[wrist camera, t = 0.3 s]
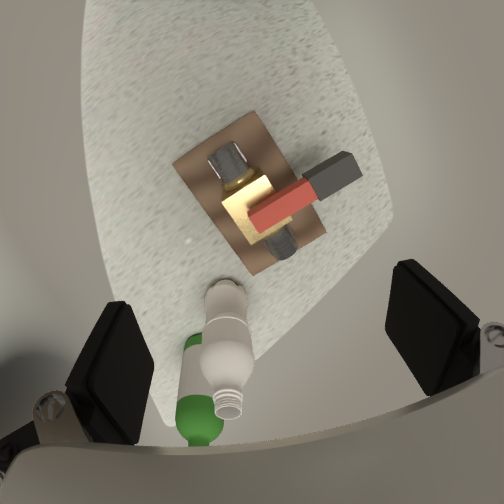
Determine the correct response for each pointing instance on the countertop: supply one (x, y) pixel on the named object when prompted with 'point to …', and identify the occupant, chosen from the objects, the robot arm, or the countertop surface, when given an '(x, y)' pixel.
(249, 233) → the ball valve
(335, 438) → the robot arm
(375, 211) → the countertop surface
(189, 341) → the wine bottle
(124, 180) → the countertop surface
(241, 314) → the water bottle
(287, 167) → the mounting board
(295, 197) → the valve lever
